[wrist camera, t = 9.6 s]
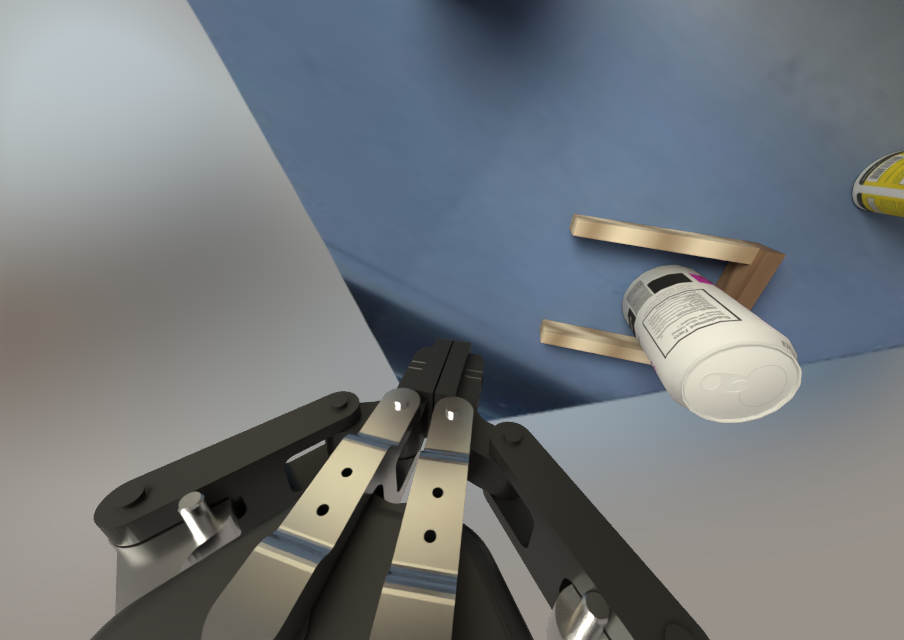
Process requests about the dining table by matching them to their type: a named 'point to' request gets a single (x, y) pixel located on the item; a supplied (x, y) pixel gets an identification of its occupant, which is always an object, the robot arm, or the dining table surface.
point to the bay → (738, 279)
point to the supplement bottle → (882, 186)
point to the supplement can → (710, 346)
